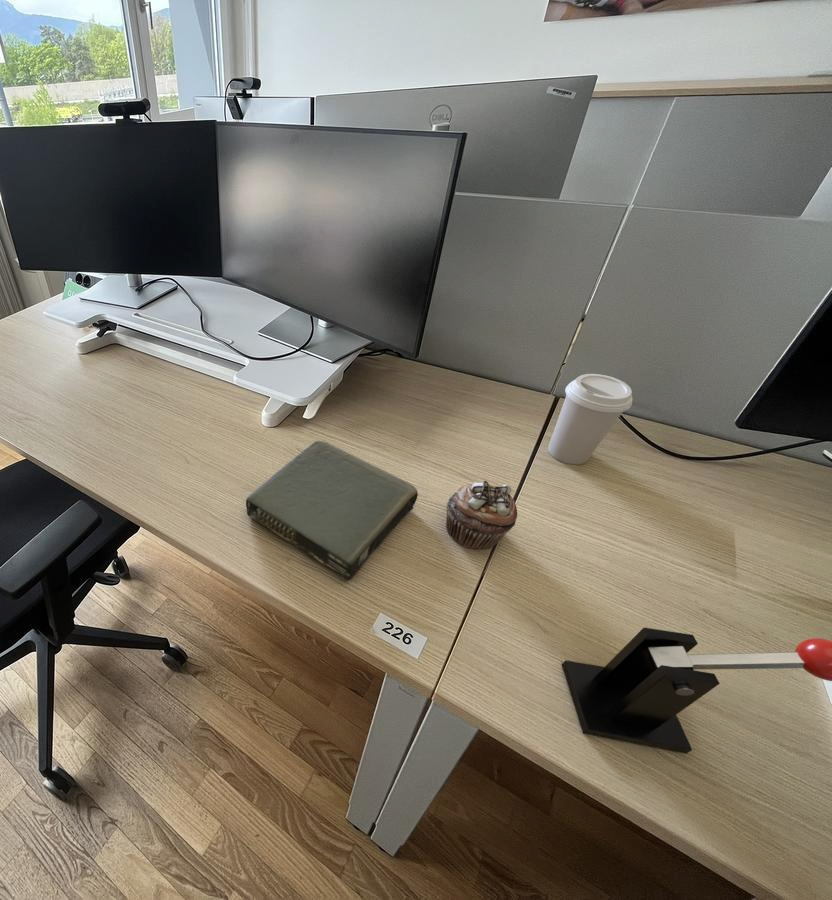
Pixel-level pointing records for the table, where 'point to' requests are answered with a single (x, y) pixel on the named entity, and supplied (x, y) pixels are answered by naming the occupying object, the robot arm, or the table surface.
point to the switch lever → (751, 659)
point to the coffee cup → (588, 416)
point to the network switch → (332, 506)
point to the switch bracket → (638, 693)
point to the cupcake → (480, 515)
